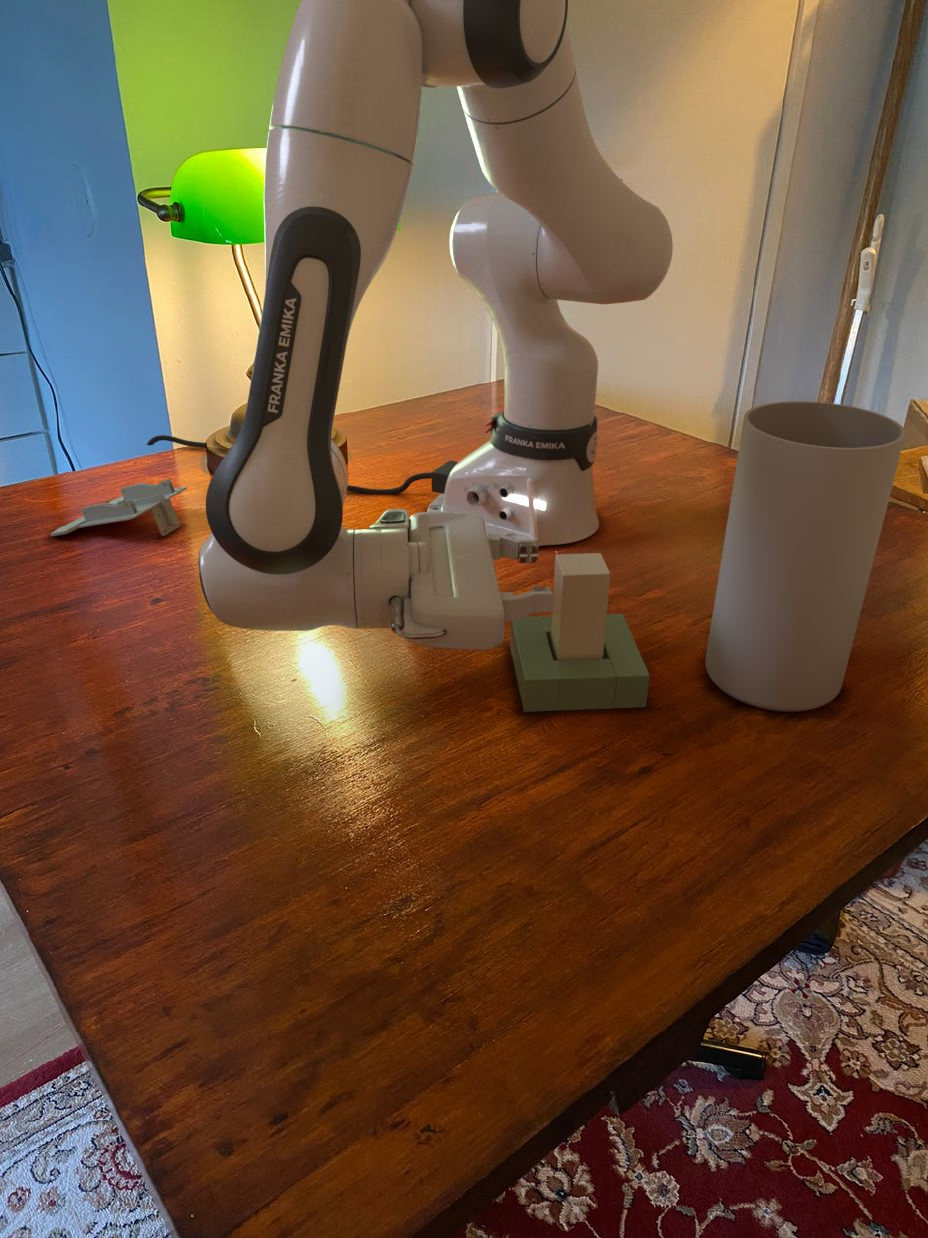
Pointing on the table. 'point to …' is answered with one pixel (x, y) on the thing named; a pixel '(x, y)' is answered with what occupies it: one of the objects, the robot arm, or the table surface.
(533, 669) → the block
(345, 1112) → the table surface
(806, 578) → the cylinder vase
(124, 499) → the metal bracket
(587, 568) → the beige rectangular block
